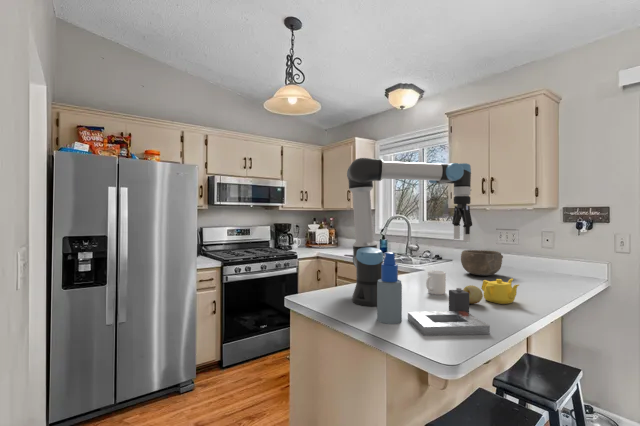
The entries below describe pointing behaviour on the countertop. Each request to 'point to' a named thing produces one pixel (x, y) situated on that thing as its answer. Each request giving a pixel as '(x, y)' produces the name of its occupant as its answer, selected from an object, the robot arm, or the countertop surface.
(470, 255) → the bowl
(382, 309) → the spray bottle
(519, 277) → the countertop surface
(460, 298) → the plug
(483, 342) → the countertop surface
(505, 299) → the teapot
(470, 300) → the fruit
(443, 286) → the mug
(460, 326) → the socket plate
